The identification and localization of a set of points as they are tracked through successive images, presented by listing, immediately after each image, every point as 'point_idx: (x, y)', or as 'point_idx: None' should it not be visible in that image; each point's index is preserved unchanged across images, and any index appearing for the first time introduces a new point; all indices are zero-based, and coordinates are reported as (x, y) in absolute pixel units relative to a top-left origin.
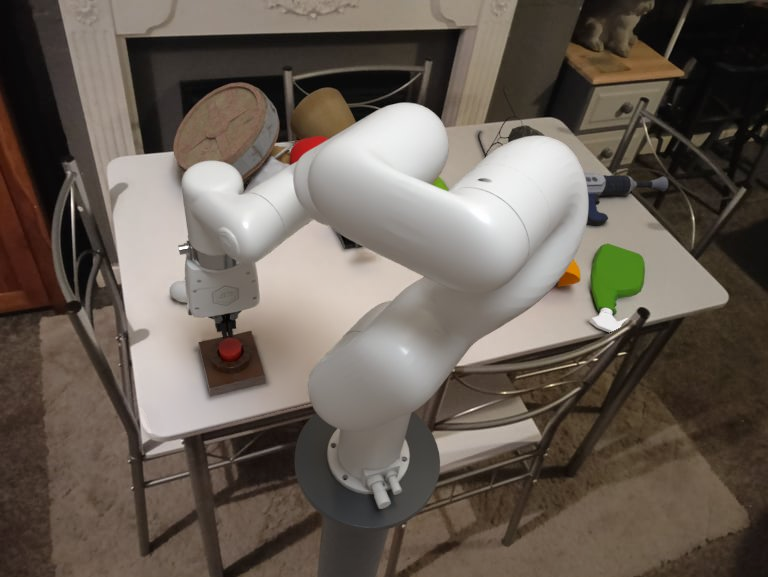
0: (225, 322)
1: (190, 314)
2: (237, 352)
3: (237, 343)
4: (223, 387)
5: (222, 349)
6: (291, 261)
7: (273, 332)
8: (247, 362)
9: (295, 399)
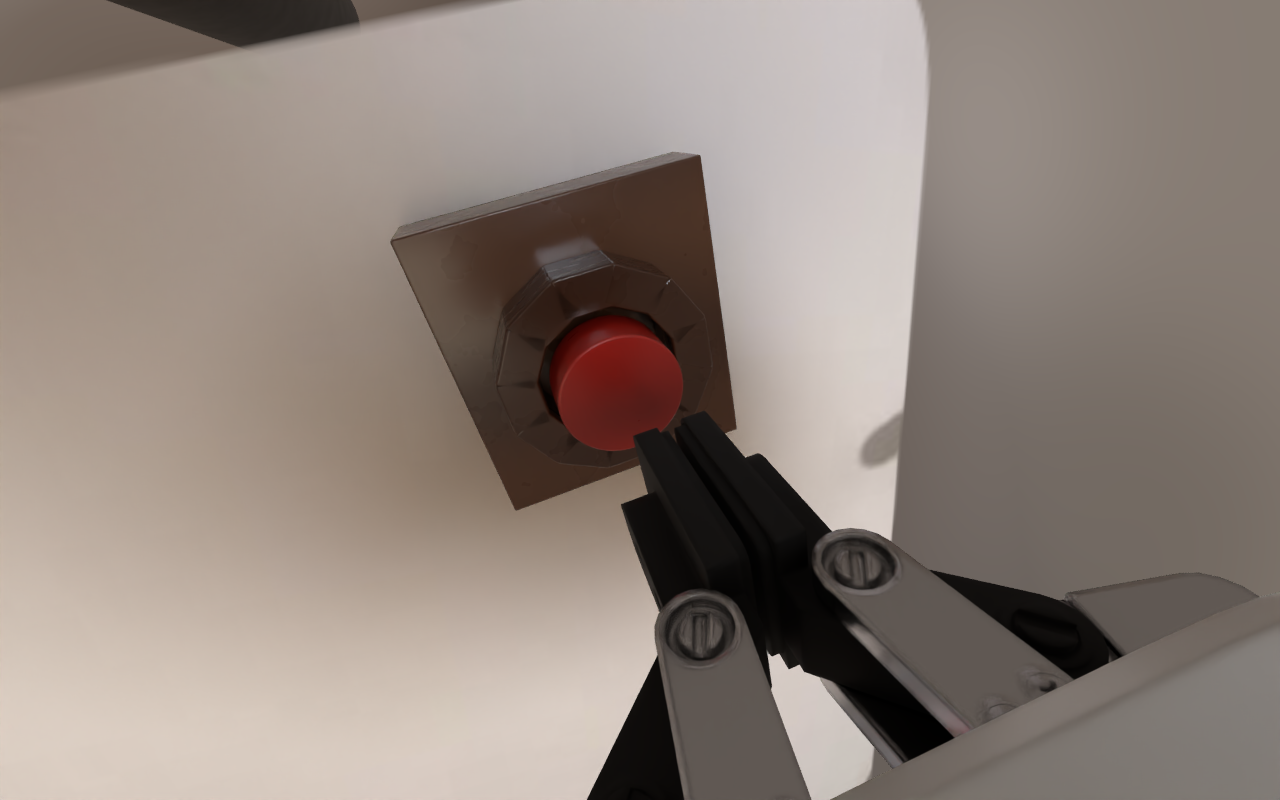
0: (763, 548)
1: (1200, 585)
2: (577, 357)
3: (582, 419)
4: (625, 172)
5: (664, 372)
6: (405, 790)
7: (416, 517)
8: (509, 315)
9: (156, 83)
